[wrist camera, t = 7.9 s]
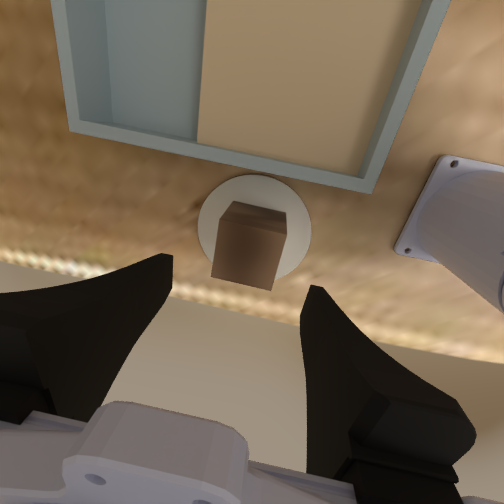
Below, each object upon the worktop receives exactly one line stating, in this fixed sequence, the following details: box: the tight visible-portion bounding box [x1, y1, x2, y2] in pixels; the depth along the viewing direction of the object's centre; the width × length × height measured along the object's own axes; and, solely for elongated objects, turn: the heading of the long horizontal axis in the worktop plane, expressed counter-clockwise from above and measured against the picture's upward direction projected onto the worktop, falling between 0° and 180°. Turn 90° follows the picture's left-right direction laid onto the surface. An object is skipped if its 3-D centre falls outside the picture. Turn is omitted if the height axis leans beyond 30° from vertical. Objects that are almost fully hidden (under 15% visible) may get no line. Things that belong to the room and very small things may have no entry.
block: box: [211, 201, 287, 291], centre depth 19 cm, size 4×4×5 cm
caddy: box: [51, 0, 451, 194], centre depth 15 cm, size 20×12×4 cm, turn 79°
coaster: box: [198, 174, 312, 280], centre depth 21 cm, size 10×10×1 cm
